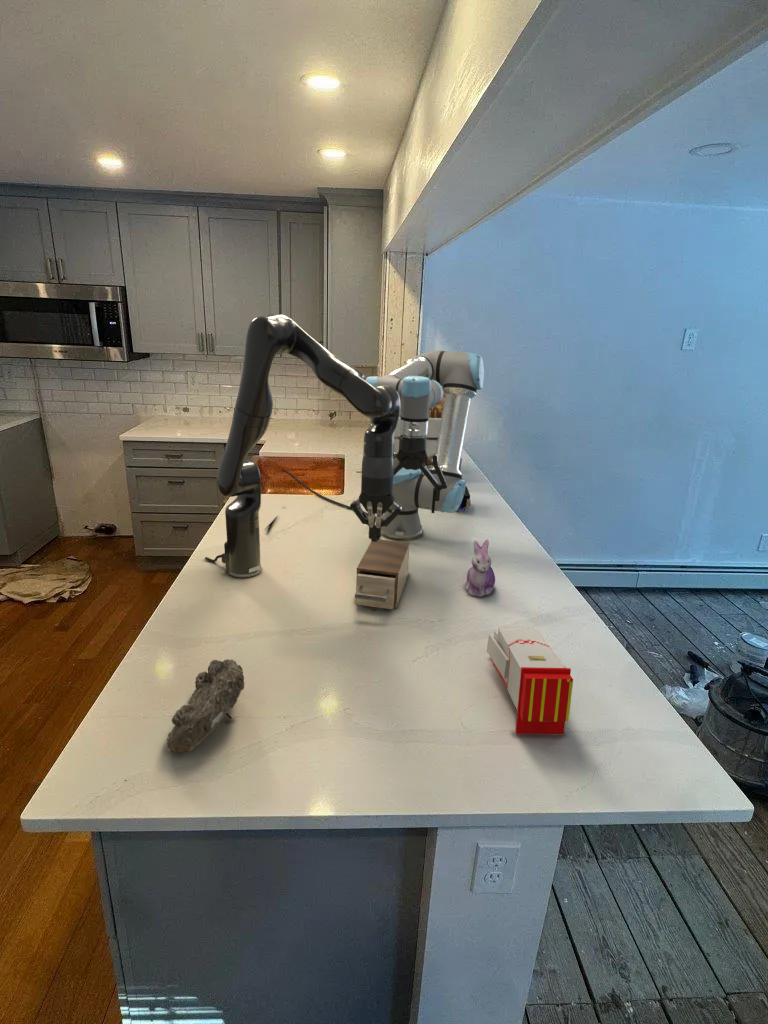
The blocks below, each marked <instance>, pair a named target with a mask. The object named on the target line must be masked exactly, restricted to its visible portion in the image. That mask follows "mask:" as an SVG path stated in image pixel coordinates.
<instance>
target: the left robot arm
mask: <svg viewBox="0 0 768 1024" xmlns="http://www.w3.org/2000/svg"><path fill="white" fill-rule="evenodd" d="M245 338H246V339H245V347H244V356H243V365H242V373H241V377H240V383H239V388H238V393H237V397H236V400H235V405H234V409H233V413H232V421H231V425H230V429H229V433H228V437H227V441H226V445H225V448H224V451H223V453H222V454H223V455H221V456H222V457H221V459H220V463H219V465H218V469H217V473H216V474H217V475H216V485H217V487H218V490H219V492H220V494H222V495H223V496H225V497H227V498H234V497H235V499H234V500H233V501H231V502H230V503H229V504H228V505H227V506H226V507H225V509H224V513H225V515H224V517H225V527H226V529H225V530H226V531H225V532H226V541H225V542H224V543H223V547H224V548H223V549H224V552H223V553H221V554H218V555H216V556H215V558H214V559H212V558H210V557H208V556H205V557H204V560H206V561H209V562H210V563H216V562H217V561H218V559H220V558H221V564H222V563H223V564H225V565H224V566H225V567H224V568H225V574H228V575H230V576H231V577H233V578H234V577H235V578H252V577H255V576H257V575H259V574H260V573H261V571H262V566H261V565H262V564H261V539H260V535H261V534H260V510H261V507H262V475H261V471H260V468H259V466H258V464H257V463H256V462H255V461H254V460H252V459H246V458H247V457H248V455H249V454H250V452H252V450H253V448H254V447H256V445H257V444H258V443H259V441H260V440H261V439H262V438H263V437H264V435H265V434H266V432H267V430H268V428H269V425H270V421H271V417H272V414H273V411H274V410H273V409H274V400H273V395H272V391H271V388H270V383H269V379H270V378H269V377H270V373H271V368H272V365H273V361H274V359H275V357H276V356H279V355H285V354H288V355H290V356H293V357H295V358H297V359H299V360H301V361H302V362H304V363H305V364H306V365H307V366H308V367H309V368H310V370H311V371H312V373H313V374H314V375H315V376H316V378H317V379H318V380H319V382H321V383H322V384H323V385H324V386H326V388H329V389H330V390H332V391H333V392H335V393H336V394H338V395H340V396H341V397H343V398H344V399H345V400H346V401H347V402H348V403H349V404H350V405H351V406H352V407H353V408H354V409H355V410H356V411H357V412H358V413H359V414H361V415H362V416H364V417H366V418H368V419H370V425H369V427H368V428H367V429H366V430H365V432H364V435H363V453H362V459H361V484H360V494H359V496H358V499H356V500H353V501H352V502H351V503H350V505H349V506H350V507H351V509H350V510H352V511H353V513H354V514H355V516H356V517H357V518H358V520H359V521H360V522H361V524H362V525H367V527H368V539H370V542H371V541H373V542H377V541H378V540H379V539H381V537H382V535H381V528H382V527H383V526H385V527H386V526H388V525H389V524H390V522H391V521H392V520H393V519H394V518H395V517H396V516H397V515H398V514H399V513H400V512H401V510H402V506H401V505H397V504H396V503H395V502H394V497H393V474H394V458H393V453H394V434H395V431H396V427H397V423H398V419H399V414H400V407H401V402H400V396H399V394H398V392H397V390H396V389H395V388H393V387H392V386H388V385H383V386H378V387H375V386H373V385H371V384H369V383H368V382H367V381H366V376H365V374H364V373H363V372H362V371H361V370H359V369H358V368H356V367H354V366H353V365H351V363H348V362H347V361H345V360H344V359H342V358H340V357H339V356H337V355H336V354H334V353H333V352H331V351H329V350H328V349H327V348H326V347H325V346H323V345H322V344H321V343H319V342H318V341H317V340H316V339H315V338H313V336H311V335H310V334H309V333H307V331H306V330H305V329H303V328H302V327H301V326H300V325H299V324H298V323H297V322H296V321H294V320H293V319H292V318H291V317H289V316H287V315H285V314H283V313H272V314H266V315H259V316H256V317H255V318H254V319H252V320H251V322H250V323H249V325H248V328H247V332H246V337H245ZM391 506H392V509H391V512H392V513H391V514H390V515H389V516H388V517H387V518H386V519H385V520H383V515H384V513H385V512H386V511H387V510H388V509H389V508H390V507H391ZM362 507H363V508H364V510H363V508H362ZM365 512H366V513H368V516H367V515H366V514H365ZM375 517H376V520H375Z"/></svg>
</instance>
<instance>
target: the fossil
mask: <svg viewBox="0 0 768 1024" xmlns="http://www.w3.org/2000/svg"><path fill="white" fill-rule="evenodd" d="M243 670H244V669H243V667H242V665H240V664H237V662H236V661H235V660H234V659H232V658H231V659H227V658H226V659H224V660H223V661H222V660H217V659H212V660H211V661H210V663H209V665H208V666H207V671H201V672H199V673H198V674H197V675H196V676H195V680H194V684H195V685H194V687H195V689H194V690H193V693H192V694H191V697H190V698H189V700H188V704H184V705H182V706H181V707H180V709H177V710H176V711H175V713H174V715H173V716H172V718H171V723H172V724H173V727H172V730H171V731H170V732H168V734H167V738H166V741H167V742H166V745H167V749H168V750H169V751H173V752H174V753H176V754H178V753H182V752H188V751H189V752H192V751H193V750H195V748H196V747H197V746H199V744H200V743H201V742H203V741H204V740H205V739H206V738H207V737H208V736H209V735H210V734H211V733H212V732H214V730H215V729H217V727H218V726H219V724H220V722H221V721H222V720H223V719H224V718H225V716H226V717H227V719H229V720H233V717H232V715H230V714H229V710H230V709H231V708H234V706H235V704H236V703H237V702H238V699H239V697H240V695H241V693H242V691H243V690H245V689H244V688H245V675H244V671H243Z"/></svg>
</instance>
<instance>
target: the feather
mask: <svg viewBox="0 0 768 1024" xmlns="http://www.w3.org/2000/svg"><path fill="white" fill-rule="evenodd" d="M277 518H278V516H276V517H275V518H274V519H273V520H272V521H271V522H270V523H269V524H268V525H267V526H266V527H265V528H264V530H266V529H267V530H268V531H267V533H269V531H270V530H271V528H272V526H273V525H274V523H275V522H276V520H277Z"/></svg>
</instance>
